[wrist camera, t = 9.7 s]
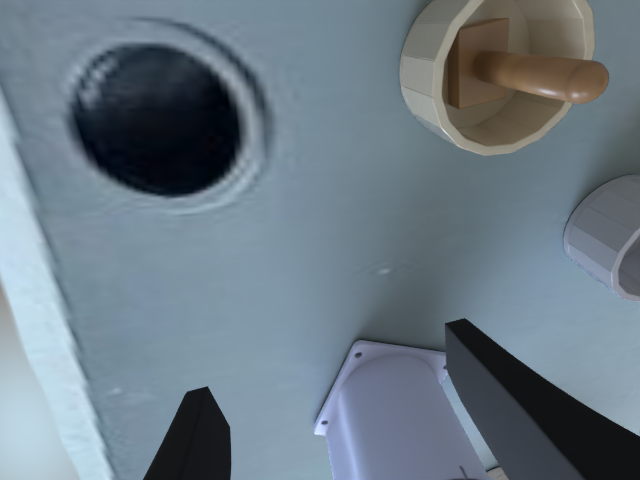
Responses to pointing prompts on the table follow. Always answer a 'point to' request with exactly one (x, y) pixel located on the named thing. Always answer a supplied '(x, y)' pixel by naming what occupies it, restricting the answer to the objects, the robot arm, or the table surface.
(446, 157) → the table surface
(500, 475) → the teacup with lid
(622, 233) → the grey cup
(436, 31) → the cream cup
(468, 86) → the wooden wall peg
